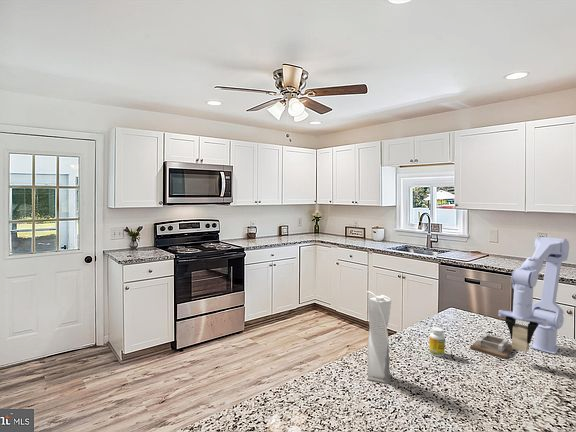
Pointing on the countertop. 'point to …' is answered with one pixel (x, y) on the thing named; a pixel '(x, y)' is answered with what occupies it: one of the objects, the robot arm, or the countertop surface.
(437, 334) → the supplement bottle
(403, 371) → the countertop surface
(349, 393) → the countertop surface
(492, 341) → the socket board
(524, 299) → the robot arm
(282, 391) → the countertop surface
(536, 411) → the countertop surface
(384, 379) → the skyscraper
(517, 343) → the birch peg
